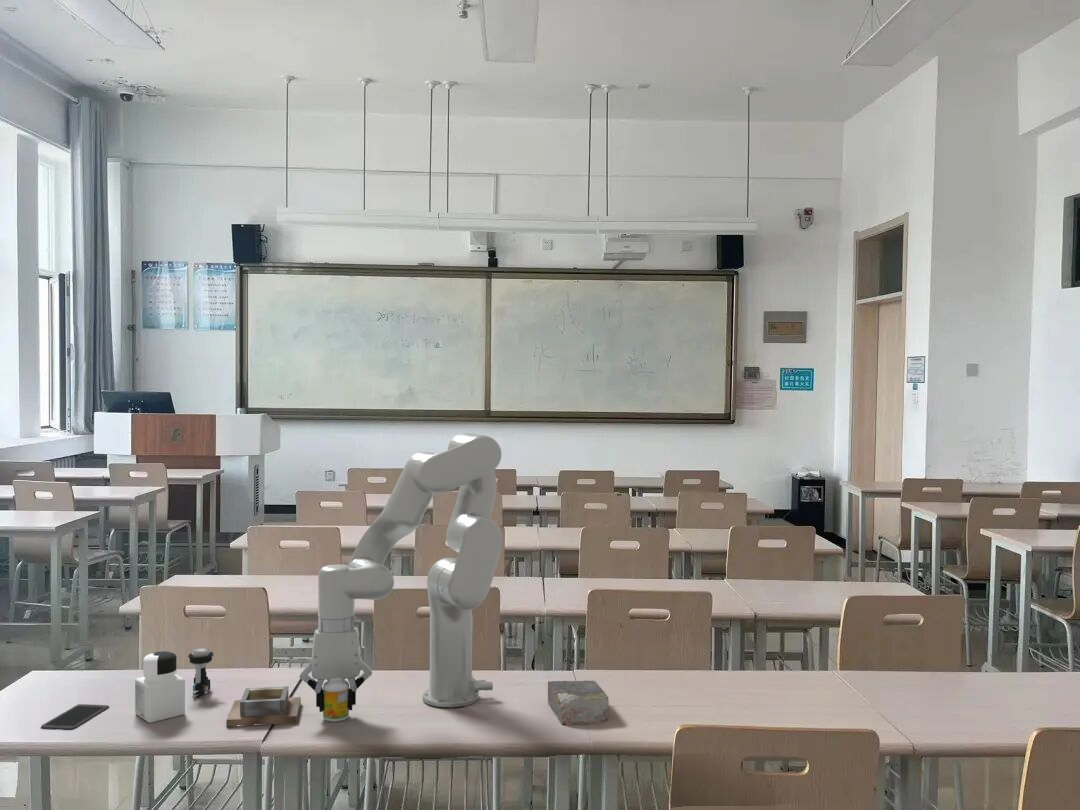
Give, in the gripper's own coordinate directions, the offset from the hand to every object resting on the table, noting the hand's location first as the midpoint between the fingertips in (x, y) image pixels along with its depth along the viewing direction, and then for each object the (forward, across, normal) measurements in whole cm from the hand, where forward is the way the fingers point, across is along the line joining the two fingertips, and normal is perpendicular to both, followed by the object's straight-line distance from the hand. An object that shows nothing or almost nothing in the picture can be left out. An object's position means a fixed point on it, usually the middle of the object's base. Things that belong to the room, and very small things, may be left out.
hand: (336, 708), depth 197 cm
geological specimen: (+3, -52, +5) cm, 52 cm away
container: (+2, +37, -8) cm, 38 cm away
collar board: (+2, +15, -4) cm, 16 cm away
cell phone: (+3, +54, -9) cm, 55 cm away
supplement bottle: (+2, 0, 0) cm, 2 cm away
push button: (+2, +31, -20) cm, 37 cm away
